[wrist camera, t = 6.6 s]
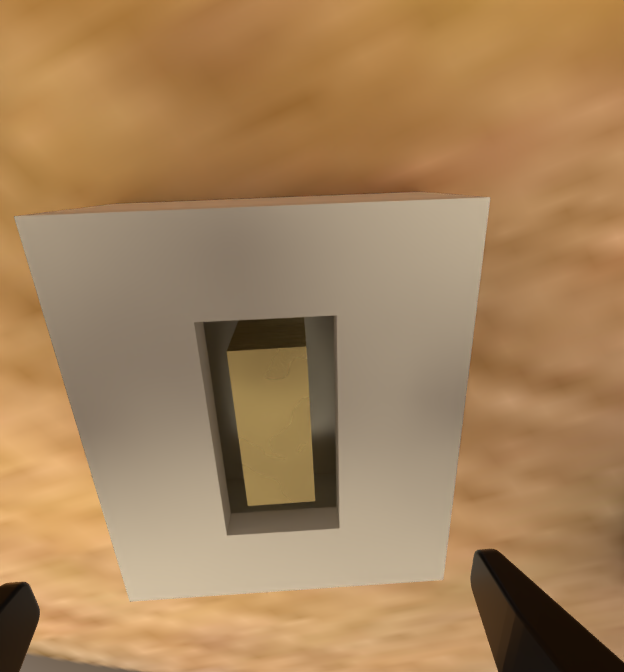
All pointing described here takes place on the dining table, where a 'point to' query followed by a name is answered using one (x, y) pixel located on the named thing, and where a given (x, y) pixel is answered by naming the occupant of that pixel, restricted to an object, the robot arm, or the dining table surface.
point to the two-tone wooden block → (272, 409)
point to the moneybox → (215, 386)
